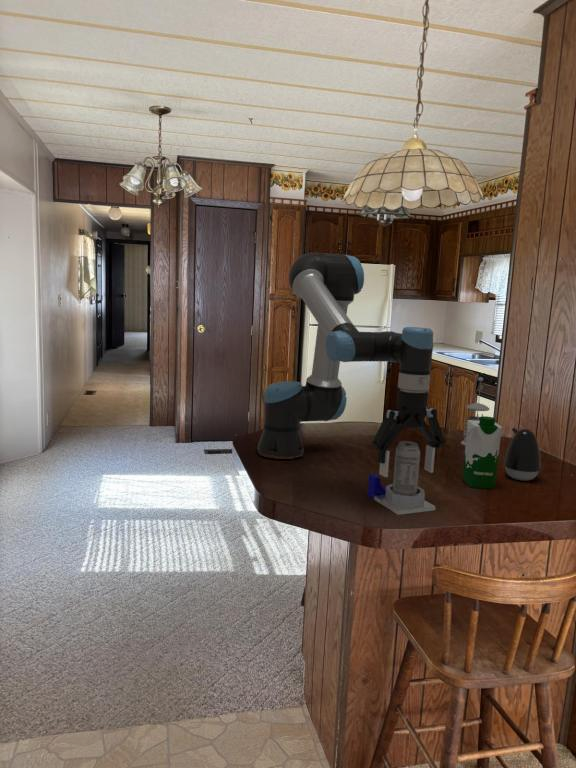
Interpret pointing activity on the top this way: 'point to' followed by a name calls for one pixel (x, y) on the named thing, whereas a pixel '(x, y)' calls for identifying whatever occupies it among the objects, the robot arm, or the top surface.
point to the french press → (477, 408)
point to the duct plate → (404, 510)
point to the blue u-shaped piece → (375, 486)
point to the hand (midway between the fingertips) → (406, 473)
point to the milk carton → (481, 452)
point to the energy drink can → (406, 468)
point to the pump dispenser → (523, 456)
